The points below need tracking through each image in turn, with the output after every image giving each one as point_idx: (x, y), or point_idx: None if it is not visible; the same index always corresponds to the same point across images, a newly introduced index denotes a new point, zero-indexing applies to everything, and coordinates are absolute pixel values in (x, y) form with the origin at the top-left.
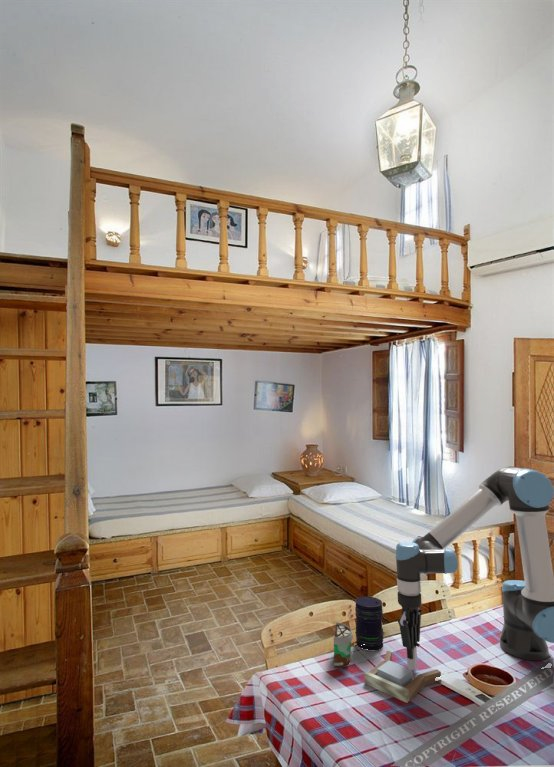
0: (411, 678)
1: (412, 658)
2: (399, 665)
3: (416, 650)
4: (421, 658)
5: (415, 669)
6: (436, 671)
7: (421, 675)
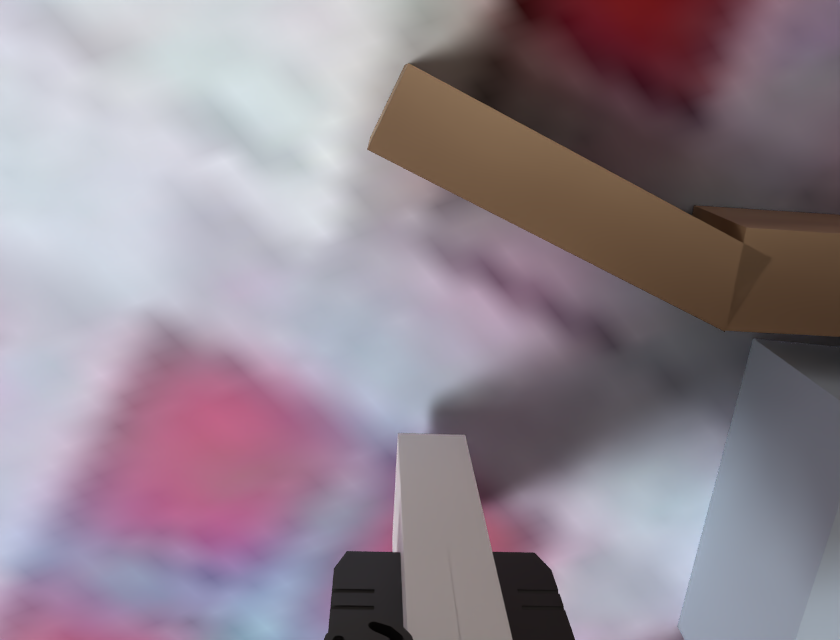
0: (823, 374)
1: (504, 554)
2: (825, 614)
3: (411, 597)
4: (27, 499)
5: (460, 437)
6: (449, 129)
7: (721, 281)
